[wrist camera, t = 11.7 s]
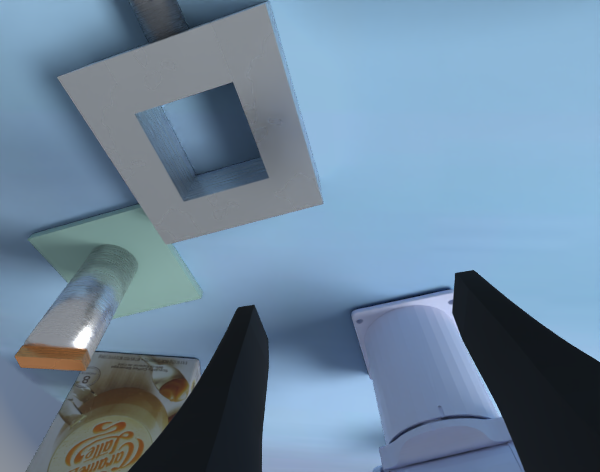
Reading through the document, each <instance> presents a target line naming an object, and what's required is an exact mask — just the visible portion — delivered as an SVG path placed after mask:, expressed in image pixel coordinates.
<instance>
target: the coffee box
mask: <svg viewBox="0 0 600 472" xmlns="http://www.w3.org/2000/svg"><path fill="white" fill-rule="evenodd" d="M200 377H201V374H200V364H199V360H197V359H190V358H177V357H164V356H149V355H136V354H123V353H108V352H94V354H93V356H92V357H91V362H90V363H89V365H88V367H87V369H86V371H81V372H80V374H79V376H78V378H77V380H76V381H75V383H74V385H73V387H72V388H71V390H70V392H69V394H68V396H67V397H66V399H65V401H64V403H63V405H62V407H61V409H60V411H59V412H58V414H57V416H56V417H55V419H54V421H53V423H52V425H51V426H50V428H49V430H48V432H47V434H46V436H45V437H44V439H43V441H42V443H41V445H40V447H39V448H38V450H37V452H36V454H35V456H34V457H33V459H32V461H31V463H30V465H29V467H28V468H27V470H26V472H128V471H129V469H130V468H131V467H132V466H133V465H134V464H135V463H136V462H137V460H138V459H139V458H140V457H141V456H142V455H143V454H144V453H145V451H146V450H147V449H148V448H149V447H150V446H151V445H152V443H153V442H154V441H155V440H156V439H157V437H158V436H159V435H160V434H161V433H162V431H163V430H164V429H165V427H166V426H167V425H168V424H169V422H170V421H171V420H172V418H173V417H174V416H175V414H176V413H177V412H178V410H179V409H180V408H181V406H182V405H183V403H184V402H185V400H186V399H187V398H188V396H189V395H190V393H191V392H192V390H193V389H194V387H195V386H196V384H197V382H198V381H199V379H200Z"/></svg>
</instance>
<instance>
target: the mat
mask: <svg viewBox="0 0 600 472" xmlns="http://www.w3.org/2000/svg"><path fill="white" fill-rule="evenodd" d="M27 240H28V241H29V242H30V243H31V244H32V245H33V246H34V247H35V248H36V249H37V250H38V251H39V252H40V254H41V255H42V256H43V257H44V258H45V259H46V260H47V261H48V262H49V263H50V264H51V265H52V266H53V267H54V269H55V270H56V271H57V272H58V273H59V274H60V275H61V276H62V277H63V278H64V279H65V280H66V281H67V282H68V283H69V281H70V280H71V279H72V277H73V276H74V275H75V273H76V272H77V271H78V269H79V268H80V267H81V265H82V264H83V263H84V261H85V260H86V259H87V257H88V256H89V254H90V253H91V252H92V250H93V249H94V248H96V247H97V246H100V245H104V244H111V245H116V246H120V247H122V248H124V249H126V250H128V251H129V252H130V253H132V254H133V256H134V257H135V258H136V260H137V262H138V271H137V273H136V274H135V276H134V278H133V280H132V282H131V284H130V286H129V288H128V290H127V291H126V293H125V295H124V297H123V299H122V301H121V303H120V305H119V307H118V308H117V310H116V312H115V314H114V316H113V318H112V319H115V318H119V317H123V316H128V315H132V314H136V313H140V312H145V311H149V310H153V309H158V308H162V307H166V306H170V305H175V304H179V303H183V302H188V301H192V300H196V299H200V298H201V297H202V294H203V292H202V290H201V289H200V287H199V285H198V284H197V282H196V281H195V279H194V278H193V276H192V274H191V273H190V271H189V270H188V268H187V267H186V265H185V263H184V262H183V260H182V259H181V257H180V256H179V254H178V252H177V251H176V249H175V248H174V246H173V245H172V243H171V244H168V245H166V244H165V243H164V241H163V240H162V238H161V237H160V235H159V233H158V232H157V230H156V229H155V227H154V226H153V224H152V223H151V221H150V220H149V218H148V217H147V215H146V213H145V212H144V210H143V209H142V207H141V206H140V204H137V205H133V206H129V207H126V208H122V209H119V210H115V211H112V212H108V213H105V214H101V215H98V216H94V217H91V218H87V219H84V220H80V221H76V222H73V223H69V224H66V225H62V226H59V227H55V228H52V229H48V230H45V231H41V232H38V233H34V234H32V235H31V236H30V237H29V238H28V239H27Z"/></svg>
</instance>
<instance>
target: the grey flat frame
mask: <svg viewBox="0 0 600 472" xmlns="http://www.w3.org/2000/svg"><path fill="white" fill-rule="evenodd" d="M128 1H129V3H130V5H131V7H132V9H133V11H134V13H135V15H136V17H137V19H138V21H139V24H140V26H141V28H142V30H143V32H144V34H145V36H146V38H147V40H148V42H149V43H148V44H145V45H142V46H139V47H136V48H134V49H131V50H128V51H125V52H122V53H119V54H117V55H114V56H111V57H108V58H105V59H103V60H100V61H97V62H94V63H91V64H89V65H86V66H84V67H81V68H79V69H76V70H74V71H71V72H69V73H66V74H64V75H61V76H59V77H57V78H58V80H59V81H60V83H61V84H62V86H63V87H64V89H65V90H66V92H67V94H68V95H69V97H70V98H71V100H72V101H73V103H74V104H75V106H76V107H77V109H78V110H79V112H80V114H81V115H82V117H83V118H84V120H85V121H86V123H87V124H88V126H89V127H90V129H91V130H92V132H93V133H94V135H95V137H96V138H97V140H98V141H99V143H100V144H101V146H102V147H103V149H104V150H105V152H106V153H107V155H108V157H109V158H110V160H111V161H112V163H113V164H114V166H115V167H116V169H117V170H118V172H119V173H120V175H121V177H122V178H123V180H124V181H125V183H126V184H127V186H128V187H129V189H130V190H131V192H132V193H133V195H134V197H135V198H136V200H137V201H138V203H139V204H140V206H141V207H142V209H143V210H144V212H145V213H146V215H147V217H148V218H149V220H150V221H151V223H152V224H153V226H154V227H155V229H156V230H157V232H158V233H159V235H160V237H161V238H162V240H163V241H164V243H165V244H166V245H168V244H171V243H175V242H179V241H183V240H187V239H191V238H194V237H198V236H202V235H206V234H210V233H214V232H217V231H221V230H225V229H229V228H233V227H237V226H240V225H244V224H248V223H252V222H256V221H260V220H263V219H267V218H271V217H275V216H279V215H283V214H286V213H290V212H294V211H298V210H302V209H306V208H309V207H313V206H317V205H321V204H323V198H322V192H321V185H320V179H319V175H318V171H317V168H316V164H315V161H314V157H313V154H312V150H311V147H310V143H309V140H308V136H307V133H306V129H305V125H304V122H303V118H302V115H301V111H300V108H299V104H298V101H297V97H296V94H295V90H294V87H293V83H292V80H291V76H290V73H289V69H288V65H287V62H286V58H285V55H284V51H283V48H282V44H281V41H280V37H279V34H278V30H277V27H276V23H275V20H274V16H273V13H272V9H271V5H270V2H269V1H266V2H263V3H261V4H258V5H255V6H252V7H249V8H246V9H244V10H241V11H238V12H235V13H232V14H230V15H227V16H224V17H221V18H218V19H215V20H213V21H210V22H207V23H204V24H201V25H198V26H196V27H193V28H190V29H188V26H187V24H186V22H185V19H184V17H183V14H182V12H181V9H180V7H179V5H178V2H177V0H128ZM232 82H233V83H234V86H235V89H236V91H237V94H238V97H239V99H240V102H241V105H242V107H243V110H244V112H245V115H246V118H247V120H248V123H249V126H250V128H251V131H252V134H253V136H254V139H255V142H256V144H257V147H258V150H259V152H260V155H261V157H260V158H256V159H253V160H249V161H246V162H242V163H239V164H235V165H232V166H228V167H225V168H221V169H218V170H215V171H211V172H208V173H204V174H201V175H197V176H196V174H195V172H194V170H193V168H192V166H191V164H190V162H189V160H188V158H187V156H186V155H185V153H184V151H183V149H182V147H181V145H180V143H179V141H178V139H177V137H176V135H175V133H174V131H173V129H172V127H171V125H170V123H169V121H168V119H167V117H166V115H165V113H164V111H163V109H162V107H161V105H164V104H167V103H170V102H173V101H176V100H179V99H182V98H185V97H188V96H191V95H195V94H198V93H201V92H204V91H207V90H210V89H213V88H216V87H219V86H222V85H225V84H228V83H232Z"/></svg>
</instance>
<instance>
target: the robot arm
mask: <svg viewBox="0 0 600 472" xmlns="http://www.w3.org/2000/svg"><path fill="white" fill-rule="evenodd" d="M351 316H352V320H353V323H354V327H355V330H356V333H357V337H358V340H359V343H360V347H361V350H362V353H363V357H364V360H365V363H366V367H367V370H368V373H369V376H370V379H371V380H372V381H373V385H374V390H375V395H376V400H377V404H378V409H379V414H380V419H381V423H382V428H383V433H384V438H385V442H386V446H383V447H380V448H379V452H380V457H381V462H382V465H381V466H377V467H375V468H374V469H373V471H372V472H600V362H599V361H597V360H596V359H594V358H592V357H591V356H589V355H587V354H586V353H584V352H582V351H581V350H579V349H578V348H576V347H574V346H573V345H571V344H570V343H568V342H567V341H565V340H564V339H562V338H561V337H559V336H558V335H556V334H555V333H553V332H552V331H551V330H549V329H548V328H546V327H545V326H543V325H542V324H541V323H539V322H538V321H537V320H535V319H534V318H532V317H531V316H530V315H529V314H527V313H526V312H525V311H523V310H522V309H521V308H519V307H518V306H517V305H515V304H514V303H513V302H512V301H510V300H509V299H508V298H507V297H505V296H504V295H503V294H502V293H501V292H499V291H498V290H497V289H496V288H495V287H493V286H492V285H491V284H490V283H489V282H487V281H486V280H485V279H484V278H483V277H481V276H480V275H479V274H478V273H477V272H475V271H474V270H471V271H465V272H459V273H455V283H454V290H452V289H451V290H445V291H441V292H436V293H431V294H427V295H422V296H417V297H413V298H408V299H403V300H399V301H394V302H389V303H385V304H380V305H375V306H371V307H366V308H361V309H356V310H354V311H353V312H352V313H351ZM358 319H360V320H358ZM459 332H460V335H461V337H462V339H461V337H460V335H459ZM462 340H463V341H462ZM463 342H464V343H463ZM464 344H465V345H464ZM465 346H466V347H465ZM466 348H467V349H468V351H469V353H470V355H471V357H472V359H473V361H474V363H475V365H476V366H477V368H478V370H479V372H480V374H481V376H482V378H483V379H484V381H485V383H486V385H487V387H488V389H489V391H490V393H491V394H492V396H493V398H494V400H495V402H496V404H497V406H498V408H499V410H500V412H501V415H502V417H499V415H498V413H497V411H496V409H495V407H494V405H493V403H492V400H491V398H490V396H489V394H488V392H487V390H486V388H485V386H484V384H483V382H482V380H481V378H480V376H479V374H478V372H477V370H476V368H475V366H474V364H473V361H472V359H471V357H470V355H469V353H468V351H467V349H466ZM268 369H269V350H268V338H267V335H266V333H265V330H264V328H263V325H262V323H261V320H260V318H259V315H258V313H257V310H256V308H255V305H250V306H244V307H238V309H237V310H236V312H235V314H234V316H233V318H232V320H231V322H230V325H229V327H228V329H227V331H226V333H225V335H224V337H223V339H222V340H221V342H220V344H219V346H218V348H217V350H216V352H215V353H214V355H213V357H212V359H211V361H210V363H209V364H208V366H207V368H206V369H205V371H204V372H203V374H202V376H201V377H200V379H199V381H198V382H197V384H196V386H195V387H194V389H193V390H192V392H191V393H190V395H189V396H188V398H187V399H186V400H185V402H184V403H183V405H182V406H181V408H180V409H179V410H178V412H177V413H176V414H175V416H174V417H173V418H172V420H171V421H170V422H169V424H168V425H167V426H166V427H165V429H164V430H163V431H162V433H161V434H160V435H159V436H158V437H157V439H156V440H155V441H154V442H153V443H152V445H151V446H150V447H149V448H148V449H147V450H146V451H145V453H144V454H143V455H142V456H141V457H140V458H139V459H138V460H137V462H136V463H135V464H134V465H133V466H132V467H131V468H130V469H129V471H128V472H262V433H263V421H264V411H265V401H266V391H267V380H268Z"/></svg>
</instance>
